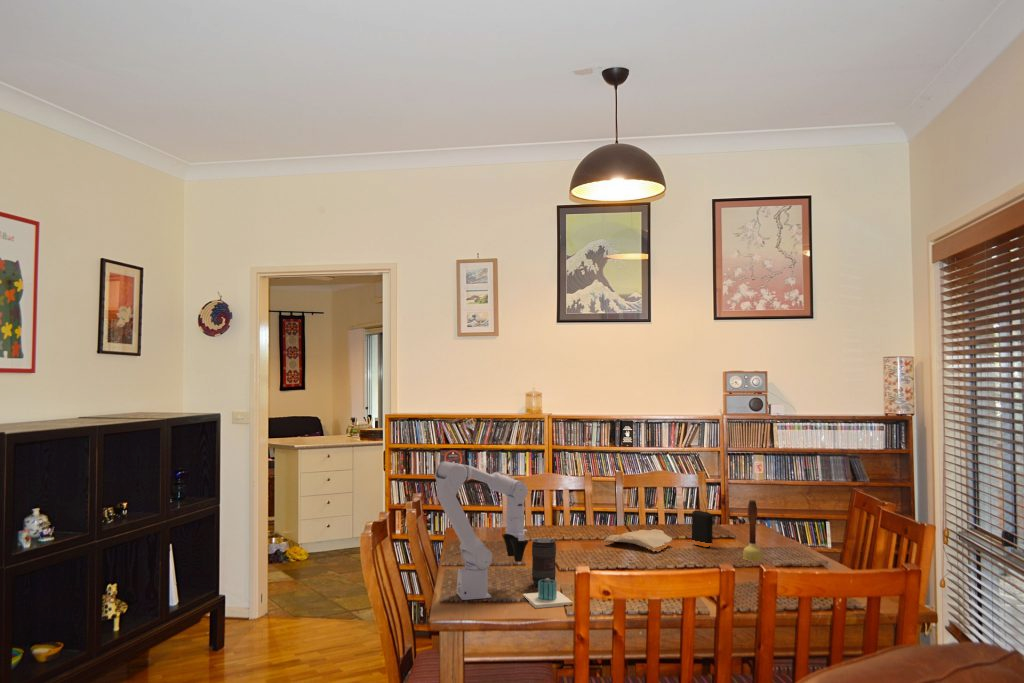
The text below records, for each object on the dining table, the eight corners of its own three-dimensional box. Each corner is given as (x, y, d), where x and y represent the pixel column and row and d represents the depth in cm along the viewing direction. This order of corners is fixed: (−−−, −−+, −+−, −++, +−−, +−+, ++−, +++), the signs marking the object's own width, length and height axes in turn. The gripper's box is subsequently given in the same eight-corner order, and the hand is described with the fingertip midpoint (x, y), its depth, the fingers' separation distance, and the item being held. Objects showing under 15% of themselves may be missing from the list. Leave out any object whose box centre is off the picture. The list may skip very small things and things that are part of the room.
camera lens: (554, 582, 253) (555, 537, 254) (556, 588, 245) (557, 542, 246) (530, 582, 253) (531, 537, 254) (532, 588, 245) (532, 542, 246)
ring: (541, 600, 228) (542, 584, 228) (535, 595, 233) (536, 579, 234) (558, 599, 230) (559, 583, 230) (552, 594, 235) (552, 578, 235)
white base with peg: (535, 608, 224) (535, 584, 224) (522, 596, 235) (523, 574, 236) (572, 605, 228) (572, 581, 228) (558, 594, 239) (558, 572, 239)
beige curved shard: (624, 540, 326) (601, 544, 311) (626, 523, 327) (603, 525, 311) (676, 551, 312) (655, 555, 296) (677, 532, 312) (656, 535, 297)
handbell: (728, 565, 280) (728, 498, 282) (755, 563, 285) (755, 497, 286) (749, 573, 269) (749, 503, 270) (777, 571, 273) (777, 502, 274)
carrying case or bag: (715, 548, 308) (716, 512, 309) (711, 549, 306) (711, 513, 307) (694, 544, 316) (694, 509, 317) (690, 545, 314) (690, 510, 315)
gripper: (534, 520, 239) (533, 563, 239) (519, 512, 253) (519, 552, 253) (513, 521, 237) (512, 564, 237) (500, 513, 251) (499, 554, 250)
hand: (514, 558), depth 244 cm, fingers open, 7 cm apart
